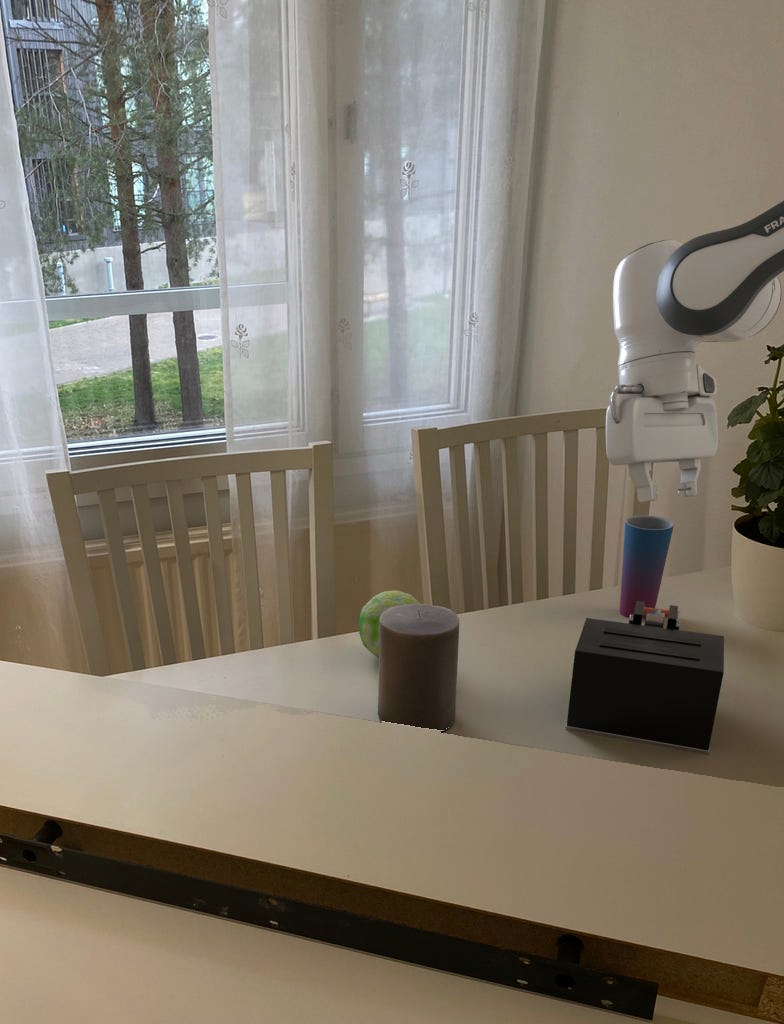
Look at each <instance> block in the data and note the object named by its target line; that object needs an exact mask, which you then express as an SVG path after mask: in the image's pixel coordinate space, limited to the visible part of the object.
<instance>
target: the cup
mask: <svg viewBox="0 0 784 1024" xmlns="http://www.w3.org/2000/svg"><path fill="white" fill-rule="evenodd" d="M624 523H625V524H624V536H623V549H622V550H623V551H622V565H621V567H622V568H621V581H620V597H619V598H620V599H619V614H620V615H621V616H623V617H624V618H627V619H629V618H630V614H633V615H634V611H635V607H636V603H637V601H642V602H645V606H644V607H648V608H656V606H657V603H658V598H659V593H660V589H661V584H662V581H663V580H662V579H663V576H664V571H665V567H666V562H667V557H668V553H669V549H670V545H671V539H672V535H673V532H674V531H673V530H674V526H675V524H674V521H672V520H670V519H668V518H665V517H661V516H656V515H633V516H629V517H627V518H626V519H625V521H624ZM645 618H646V615H643V619H642V621H645Z"/></svg>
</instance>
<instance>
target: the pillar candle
mask: <svg viewBox="0 0 784 1024" xmlns="http://www.w3.org/2000/svg"><path fill="white" fill-rule="evenodd" d="M459 639H460V618H459V616H458V615H457V613H456V612H454V611H453V610H452V609H451V608H446V607H444V606H440V605H432V604H425V603H420V604H412V605H411V604H408V605H401V606H396V607H390V608H388V609H387V611H385V612H383V614H382V615H381V616H380V628H379V657H378V695H377V701H378V702H377V715H378V719H379V721H380V720H381V721H385V722H391V723H397V724H404V725H410V726H415V727H421V728H429V729H437V730H446V728H448V727H450V726H451V727H452V726H453V725H454V724H453V723H455V720H456V709H457V707H456V705H457V689H458V688H457V685H458V665H459V664H458V662H459V659H458V658H459V641H460V640H459ZM381 721H380V722H381ZM452 724H453V725H452ZM451 727H450V728H451ZM446 731H447V730H446Z"/></svg>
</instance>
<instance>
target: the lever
mask: <svg viewBox="0 0 784 1024" xmlns="http://www.w3.org/2000/svg"><path fill="white" fill-rule="evenodd" d="M668 614H669V609H664V608H656V607H655V608H648V607H644V613H643V615H646V618H645V620H644V626H652V627H659V628H664V624H665V619H668ZM679 614H680V612H679V610H678V613H677V620H678V619H679Z"/></svg>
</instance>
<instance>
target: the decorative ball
mask: <svg viewBox="0 0 784 1024" xmlns="http://www.w3.org/2000/svg"><path fill="white" fill-rule="evenodd" d="M408 604H411V605H412V604H421V603H420V601H418V600H417V598H415V597H414V596H413V595H412V594H410V593H406V592H403V591H400V590H385V591H381V592H380V593H377V594H376V595H374V596H373V597H372V598H371V599H370V600H369V601H367V602H366V604H365V605H363V607H362V608H361V611H360V615H359V621H358V631H359V636H360V639H361V642H362V645H363V647H365V649H366V650H368V651H369V652H370V653H371V654H372V655H373V656H375V657H376V658H379V628H380V616H381V615H382V614H383V612H385V611H387V609H388V608H390V607H396V606H401V605H408Z"/></svg>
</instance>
